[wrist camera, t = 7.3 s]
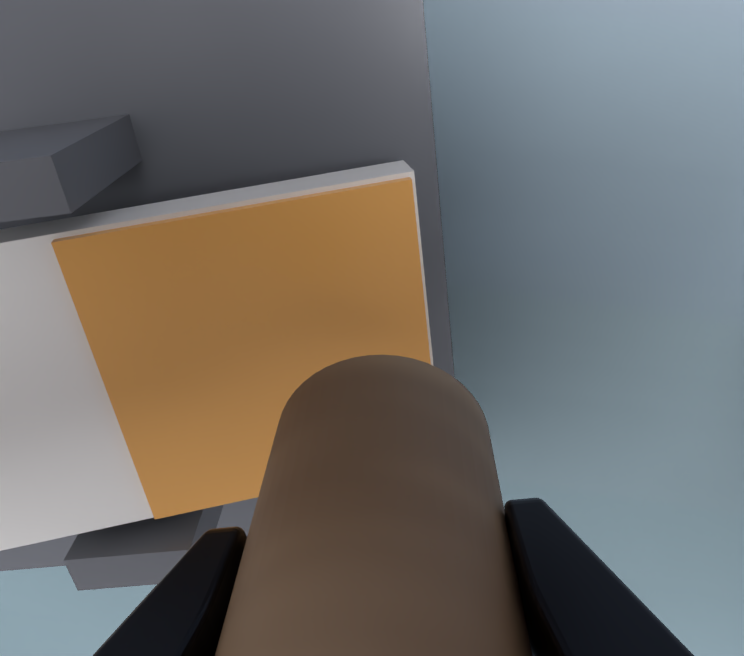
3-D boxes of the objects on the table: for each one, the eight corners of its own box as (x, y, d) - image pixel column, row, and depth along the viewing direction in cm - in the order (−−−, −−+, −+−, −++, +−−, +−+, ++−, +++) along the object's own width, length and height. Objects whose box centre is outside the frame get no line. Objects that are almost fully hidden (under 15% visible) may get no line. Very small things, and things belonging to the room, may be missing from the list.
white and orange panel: (403, 159, 14) (416, 173, 13) (432, 431, 17) (444, 460, 16) (-378, 294, 12) (-437, 322, 11) (-185, 563, 16) (-216, 603, 15)
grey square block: (408, -78, 16) (426, -123, 9) (454, 448, 23) (484, 644, 16) (-207, 15, 17) (-604, 38, 10) (22, 488, 24) (-119, 687, 18)
